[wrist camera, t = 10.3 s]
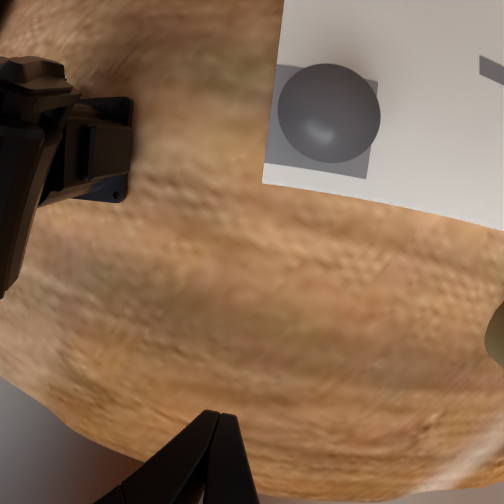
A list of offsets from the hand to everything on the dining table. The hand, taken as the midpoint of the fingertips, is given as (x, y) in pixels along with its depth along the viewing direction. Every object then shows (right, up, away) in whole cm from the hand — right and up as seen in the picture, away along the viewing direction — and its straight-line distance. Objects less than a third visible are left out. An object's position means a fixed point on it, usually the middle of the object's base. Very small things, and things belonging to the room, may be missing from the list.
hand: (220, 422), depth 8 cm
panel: (+12, +15, +6) cm, 21 cm away
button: (+4, +11, +6) cm, 13 cm away
